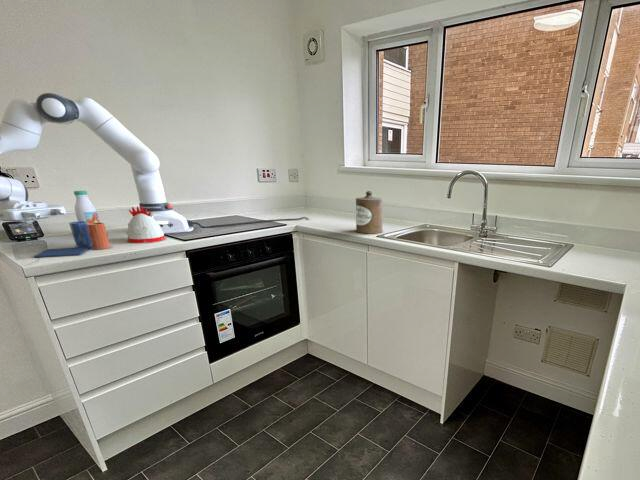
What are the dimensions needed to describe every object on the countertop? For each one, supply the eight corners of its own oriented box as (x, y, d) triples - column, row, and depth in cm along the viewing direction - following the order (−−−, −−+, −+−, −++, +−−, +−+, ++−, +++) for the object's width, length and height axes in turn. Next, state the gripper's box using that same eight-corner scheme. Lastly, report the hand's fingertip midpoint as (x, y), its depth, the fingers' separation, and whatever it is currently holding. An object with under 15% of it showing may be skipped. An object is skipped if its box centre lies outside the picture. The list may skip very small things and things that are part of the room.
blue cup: (96, 244, 149) (89, 221, 145) (91, 247, 144) (84, 223, 141) (79, 245, 147) (72, 221, 143) (74, 248, 142) (66, 223, 138)
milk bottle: (82, 236, 163) (68, 191, 155) (81, 233, 168) (68, 190, 161) (103, 234, 167) (91, 191, 160) (102, 232, 173) (90, 190, 166)
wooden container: (351, 230, 200) (350, 190, 192) (371, 228, 209) (371, 189, 201) (366, 234, 190) (366, 192, 182) (387, 232, 199) (388, 191, 191)
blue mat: (90, 248, 143) (89, 246, 143) (79, 255, 133) (79, 253, 133) (48, 250, 138) (48, 249, 138) (34, 257, 128) (34, 256, 128)
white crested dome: (133, 237, 165) (125, 204, 159) (167, 236, 170) (160, 204, 164) (124, 243, 153) (115, 208, 147) (161, 242, 158) (153, 208, 152)
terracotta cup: (112, 246, 148) (105, 222, 144) (108, 249, 143) (101, 224, 139) (95, 246, 146) (88, 222, 142) (91, 249, 141) (83, 224, 137)
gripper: (-12, 206, 134) (17, 208, 132) (47, 201, 153) (74, 203, 151) (-6, 223, 136) (23, 225, 134) (51, 216, 155) (78, 218, 153)
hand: (50, 213), depth 143 cm, fingers open, 8 cm apart
